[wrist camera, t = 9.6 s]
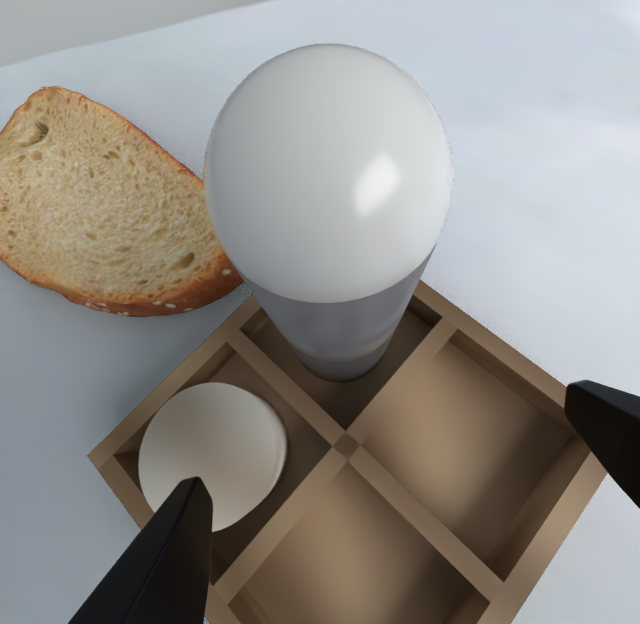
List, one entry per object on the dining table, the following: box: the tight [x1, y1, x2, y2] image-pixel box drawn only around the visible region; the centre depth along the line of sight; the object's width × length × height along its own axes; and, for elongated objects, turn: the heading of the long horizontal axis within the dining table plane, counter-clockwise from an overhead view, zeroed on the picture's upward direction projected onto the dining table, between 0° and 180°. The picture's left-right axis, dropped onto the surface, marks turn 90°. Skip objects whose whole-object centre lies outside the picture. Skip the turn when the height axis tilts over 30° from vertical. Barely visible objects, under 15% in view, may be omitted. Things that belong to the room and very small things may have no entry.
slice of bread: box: [0, 86, 244, 317], centre depth 21 cm, size 18×18×4 cm
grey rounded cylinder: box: [203, 43, 454, 383], centre depth 11 cm, size 5×5×13 cm
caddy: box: [87, 280, 608, 624], centre depth 14 cm, size 16×16×4 cm
